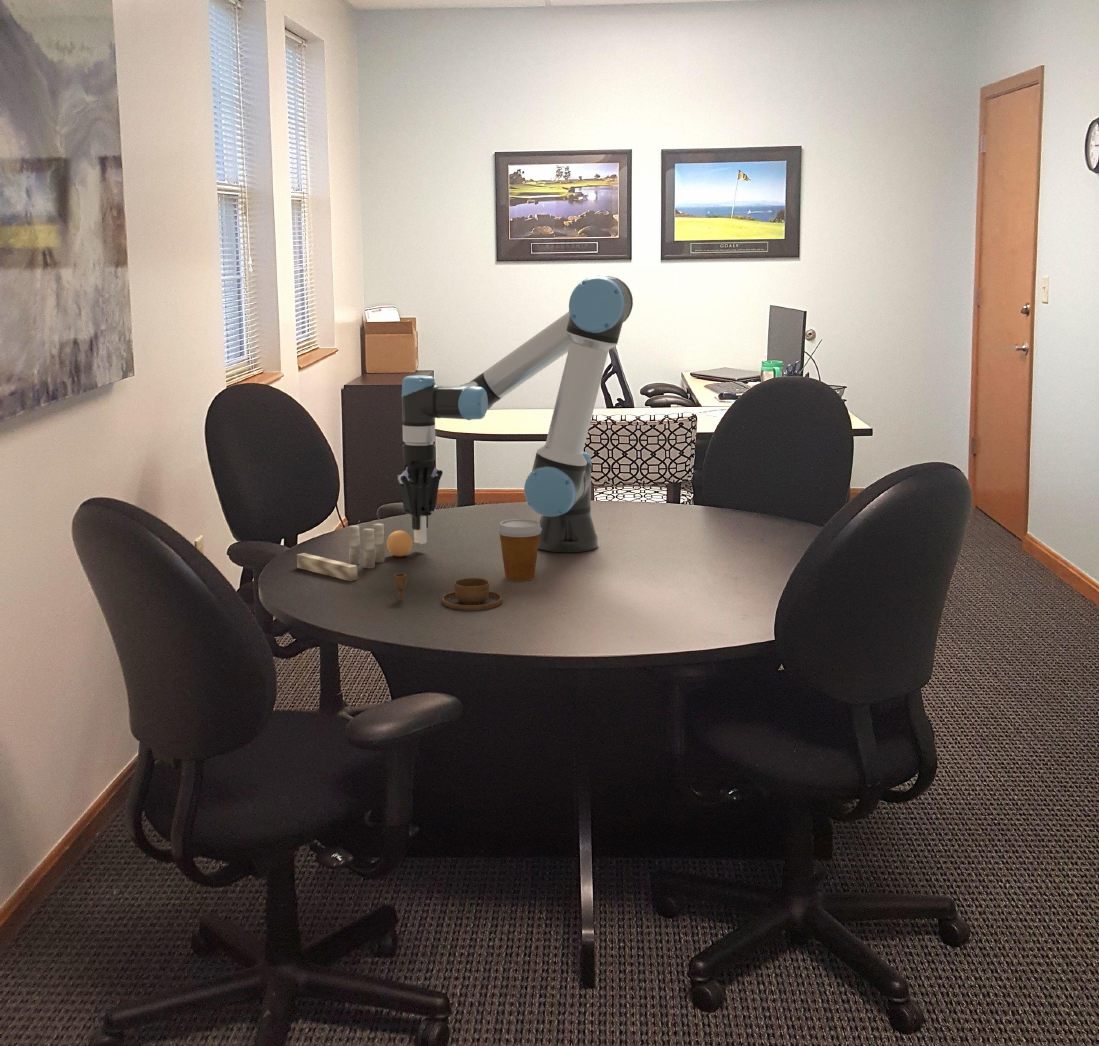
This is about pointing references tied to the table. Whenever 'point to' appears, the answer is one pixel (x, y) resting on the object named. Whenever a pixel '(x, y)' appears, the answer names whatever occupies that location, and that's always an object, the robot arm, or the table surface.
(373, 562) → the back pin left
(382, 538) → the front pin
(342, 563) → the white marbled bar
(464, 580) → the place setting
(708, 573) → the table surface
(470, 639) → the table surface
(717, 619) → the table surface
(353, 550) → the back pin right
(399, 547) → the ball
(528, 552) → the disposable coffee cup
